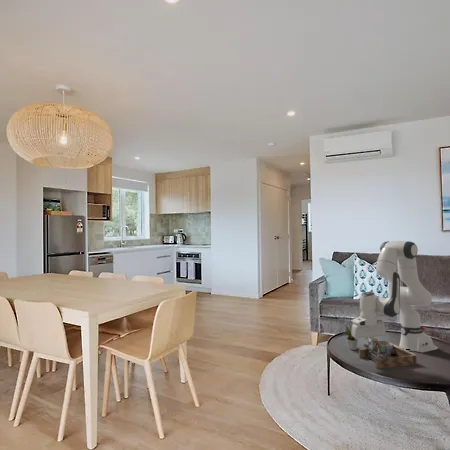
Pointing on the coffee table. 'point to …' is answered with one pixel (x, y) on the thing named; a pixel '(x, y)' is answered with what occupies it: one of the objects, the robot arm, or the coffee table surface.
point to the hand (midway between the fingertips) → (369, 344)
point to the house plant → (350, 339)
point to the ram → (371, 355)
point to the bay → (393, 358)
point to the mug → (384, 348)
